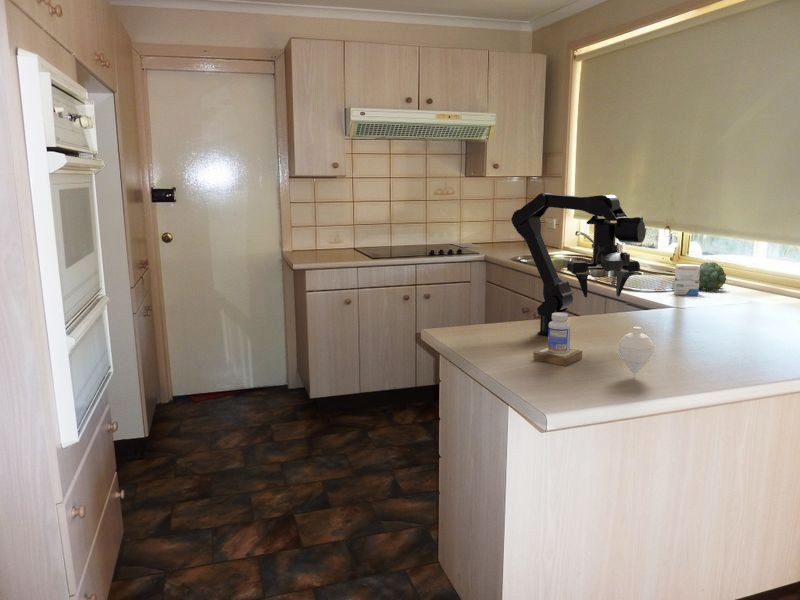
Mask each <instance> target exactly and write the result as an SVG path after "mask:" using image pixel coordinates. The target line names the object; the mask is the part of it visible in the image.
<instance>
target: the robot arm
mask: <svg viewBox="0 0 800 600" xmlns="http://www.w3.org/2000/svg"><path fill="white" fill-rule="evenodd" d="M549 208H555V209H565V210H575V211H576V210H577V211H582V212H585V213H587V214H590V215H592V216H591V218H590V219H588V220H587V221H586V224H587V225H593V240H592V241H593V243H592V244H591V248H592V258H590V259H591V261H590V263H589V262H586V261H584V260H569V261H568V262H567V263H566V264H567V265H566V271H567V272H570V273H571V274H572V275H575V277H576V279H577V281H578V284H579V286H580V288H581V291H582V293H583V294H582V295H583V296H584V298H588V277H589V273H587V271H592V270H593V271H594V270H604V271H605V272H611V271H613V272H614V271H616V278H615V279H616V282H615V291H616V292H615V293H616V297H620V296H621V294H622V291H623V289H624V287H625V284H626V282H627V281H628V279H629V278H630V277H631V276H632V275H635V273H636V272H640V271H641V264H640V262H639V261H638V260H635V259H631V258H630V257H631V254H630V253H629V252H628V251H621V252H620V253H619V252H618V246H617V245H616V240H618V241H619V243H637V244H642V243H643V242H644V241H645V237H646V234H647V232H646V231H647V230H646V225H645V224H646V223H645V222H644V216H636V217H632V216H631V217H629V216H627V214H626V213H625V211H624V210H623V209H622V206H621V203H620V198H618V197H617V196H616V195H615V194H600V195H591V196H582V195H581V196H578V195H570V194H569V195H568V194H556V193H555V194H554V193H550V192H541V193H539V194H538V195H536V197H534V198H533V199H532V200H531V201H529V202H528V203H527V204H525V205H523V206H522V207H521V208H520V209H516V210H515V211H514V212H513V214H512V216H511V224H512V226H513V227H514V229H515V231H516V232H517V234H519V235H520V236H521V238H523V239H524V240H525V243H526V245H527V248H528V249H529V252H530V255H531V256H532V259H533V262H534V264H535V267H536V269H537V271H538V274H539V277H540V279H541V282H542V285H543V287H542V295H543V302H542V303H541V304H540V305H538V307H537V308H536V311H537V315H538V316H540V317H539V319H540V320H539V321H540V323H539V324H540V325H539V331H537V335H543V336H547V337H548V329H549V323H550V322H551V321H552V313H567V312H568V308H569V307H571V305H572V304H573V301H574V296H573V295H574V294H575V293H574V291H572V289H571V286H570V282H569V281H568V280H567V281H564V282H563V280H561V278H559V277H560V276H559V275H558V273H557V270H556V268H555V266H554V263H553V261H552V258H551V256H550V254H549V251H548V248H547V246H546V243H545V241H544V239H543V237H542V233H541V232H542V222H541V218H543V216H544V215H545V214H546V212H547V211H548V209H549Z"/></svg>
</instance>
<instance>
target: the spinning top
mask: <svg viewBox="0 0 800 600" xmlns="http://www.w3.org/2000/svg"><path fill="white" fill-rule="evenodd" d="M654 351H655V345H654V343H653V341H652V339H651V338H650V337H649V336H648V335H646V334H644V333H643V332H642V327H641V326H633V327H632V332H628V333H626V334H625V335H624V336H622V338H621V339H620V340H619V342H618V353H619V354H620V357H621V358H622V361H623V362H624V363H625V365H626V368H628V369H629V371H630V372H631V373H632V374H633V379H635V378H636V374H638V373H639V372H640V371H641V370H642V369H643V368H644V367H645V366H646V364H647V363H648V362H649V361H650V359H651V358H652V356H653V354H654Z"/></svg>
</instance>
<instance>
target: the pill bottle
mask: <svg viewBox="0 0 800 600" xmlns="http://www.w3.org/2000/svg"><path fill="white" fill-rule="evenodd" d="M568 319H569V314H568V313H567V312H565V313H552V321H551V322H550V323H549V329H548V336H547V337H548V338H547V346H548V350H549V351H550V352H553V353H566V352H568V351H569V348H570V346H571V345H570V341H571V324H570V322H568ZM570 349H571V348H570Z"/></svg>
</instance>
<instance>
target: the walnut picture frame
mask: <svg viewBox="0 0 800 600" xmlns="http://www.w3.org/2000/svg"><path fill="white" fill-rule="evenodd" d="M533 359H534V360H533ZM533 359H532V360H533V361H537V360H539V361H538V362H542V361H544V362H543V363H547V362H548V364H552V363H553V364H552V365H558V366H564V367H567V366H569V365H571V364H573V363H575V362H577V361H579V360H581V359H583V350H580V349H575V348H569V351H568V352H566V353H553V352H550V351H549V350H548V345H547V346H546V347H543V348H540V349H538V350H535V351H533Z"/></svg>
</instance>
